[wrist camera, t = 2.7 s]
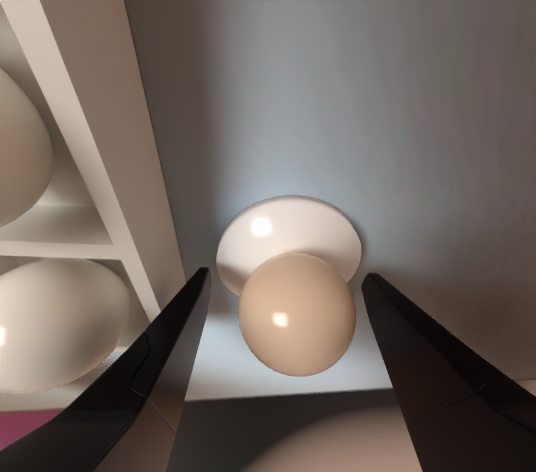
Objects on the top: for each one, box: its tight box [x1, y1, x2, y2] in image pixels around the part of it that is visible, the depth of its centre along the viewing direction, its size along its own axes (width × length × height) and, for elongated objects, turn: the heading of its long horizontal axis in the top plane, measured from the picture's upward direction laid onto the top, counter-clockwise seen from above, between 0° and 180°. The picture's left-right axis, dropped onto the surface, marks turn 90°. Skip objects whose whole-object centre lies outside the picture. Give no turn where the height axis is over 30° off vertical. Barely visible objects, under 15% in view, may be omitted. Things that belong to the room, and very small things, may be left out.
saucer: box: [216, 195, 362, 298], centre depth 11 cm, size 7×7×1 cm
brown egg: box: [238, 252, 356, 377], centre depth 9 cm, size 5×5×5 cm
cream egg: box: [0, 258, 132, 394], centre depth 8 cm, size 5×5×5 cm
